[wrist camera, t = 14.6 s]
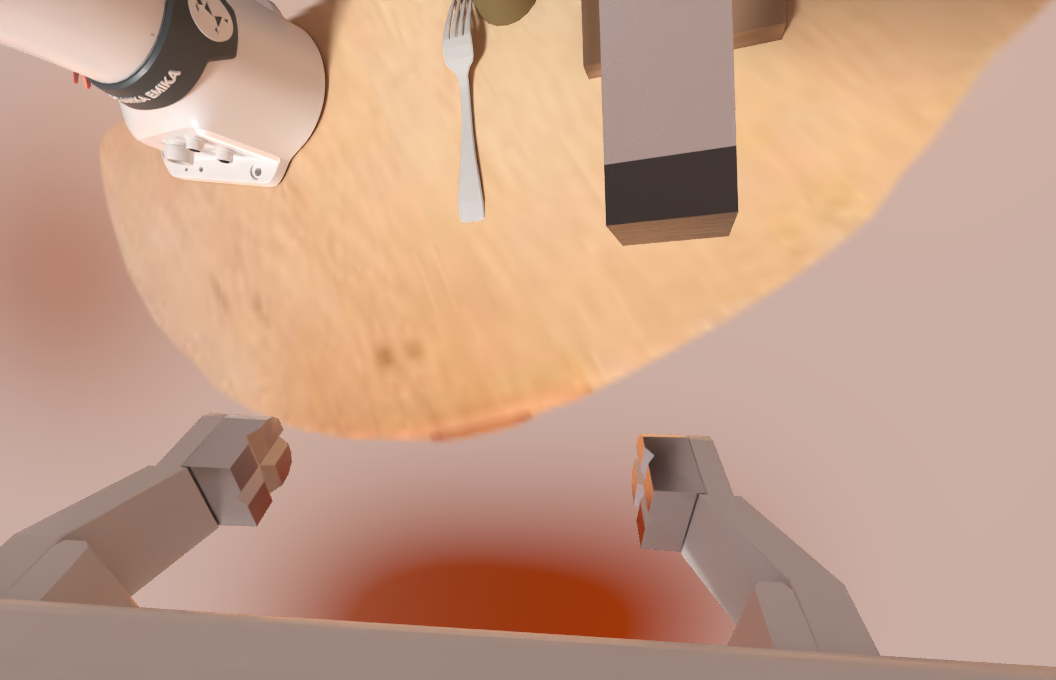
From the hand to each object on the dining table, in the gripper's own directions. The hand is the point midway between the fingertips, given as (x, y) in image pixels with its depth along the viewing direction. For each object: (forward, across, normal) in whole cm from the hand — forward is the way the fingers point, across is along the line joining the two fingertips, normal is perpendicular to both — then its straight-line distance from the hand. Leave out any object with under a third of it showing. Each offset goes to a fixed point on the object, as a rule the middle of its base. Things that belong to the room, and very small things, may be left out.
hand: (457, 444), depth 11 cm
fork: (+39, +6, -2) cm, 40 cm away
